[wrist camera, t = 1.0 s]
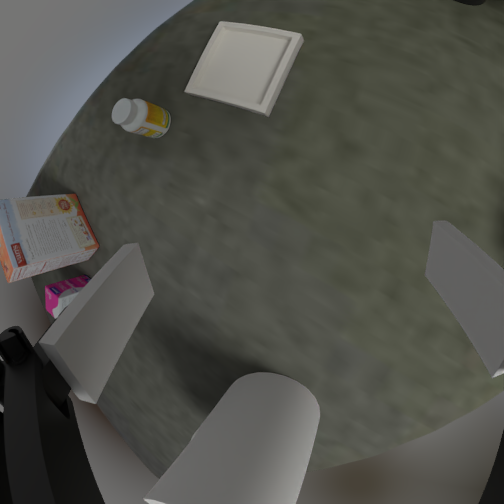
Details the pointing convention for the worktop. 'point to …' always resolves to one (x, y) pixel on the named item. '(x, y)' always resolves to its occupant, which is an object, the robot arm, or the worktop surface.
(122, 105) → the supplement bottle
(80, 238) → the cracker box
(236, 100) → the tray
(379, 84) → the worktop surface
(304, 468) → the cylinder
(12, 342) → the robot arm
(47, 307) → the supplement box
